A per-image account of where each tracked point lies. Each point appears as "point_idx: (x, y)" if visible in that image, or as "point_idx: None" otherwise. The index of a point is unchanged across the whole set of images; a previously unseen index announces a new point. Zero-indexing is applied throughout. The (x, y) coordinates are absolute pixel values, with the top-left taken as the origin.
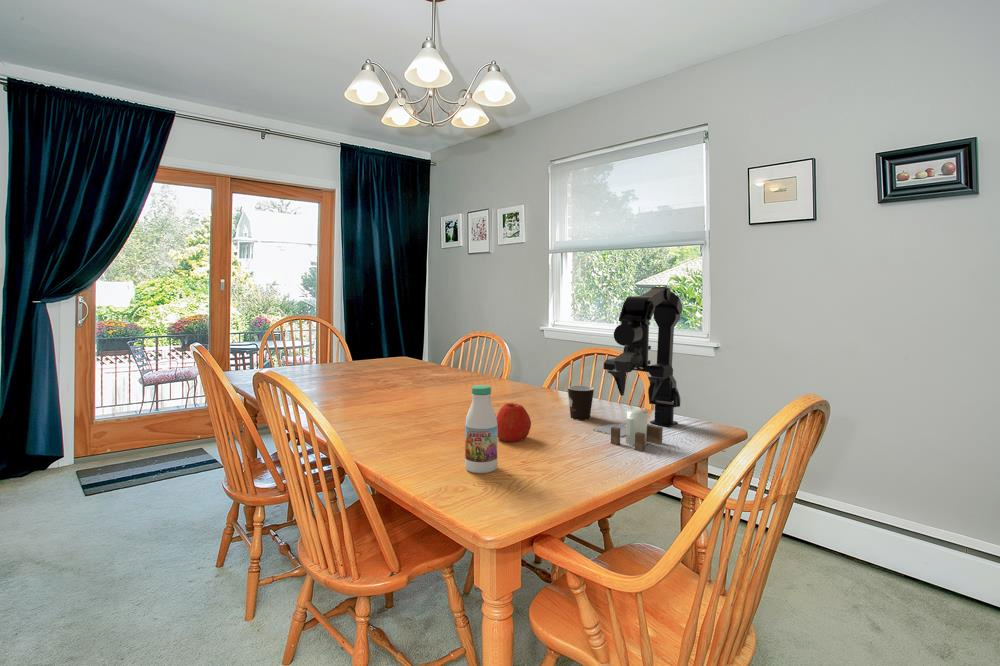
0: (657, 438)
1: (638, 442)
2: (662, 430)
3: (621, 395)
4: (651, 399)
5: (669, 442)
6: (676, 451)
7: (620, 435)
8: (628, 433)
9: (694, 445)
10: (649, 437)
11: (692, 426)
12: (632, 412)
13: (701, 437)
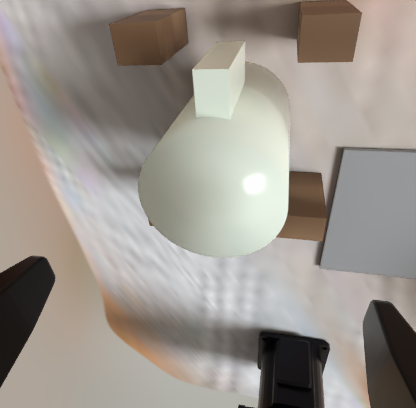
0: None
1: (150, 15)
2: None
3: (375, 300)
4: (23, 266)
5: None
6: (76, 130)
7: (354, 157)
8: (226, 44)
9: (97, 224)
10: None
11: (216, 357)
12: (219, 164)
13: (140, 294)
